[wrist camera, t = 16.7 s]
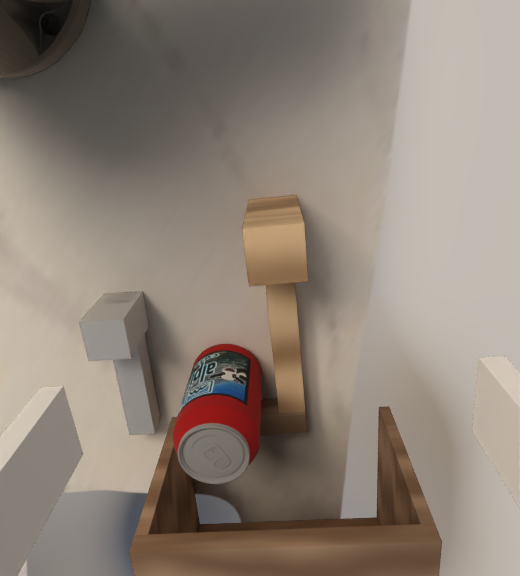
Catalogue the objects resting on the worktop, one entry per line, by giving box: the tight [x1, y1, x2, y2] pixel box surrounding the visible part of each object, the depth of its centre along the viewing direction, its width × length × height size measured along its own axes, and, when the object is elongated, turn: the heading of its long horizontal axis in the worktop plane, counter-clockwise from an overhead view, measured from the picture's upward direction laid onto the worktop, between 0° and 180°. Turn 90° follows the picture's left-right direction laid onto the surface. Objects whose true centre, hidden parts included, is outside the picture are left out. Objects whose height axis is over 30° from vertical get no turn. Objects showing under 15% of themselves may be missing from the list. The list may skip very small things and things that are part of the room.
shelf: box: [129, 407, 442, 576], centre depth 43 cm, size 16×22×16 cm
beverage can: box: [173, 344, 262, 484], centre depth 40 cm, size 7×7×12 cm
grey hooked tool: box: [79, 291, 160, 435], centre depth 42 cm, size 14×4×6 cm, turn 4°
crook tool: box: [242, 195, 308, 435], centre depth 39 cm, size 22×10×10 cm, turn 6°
